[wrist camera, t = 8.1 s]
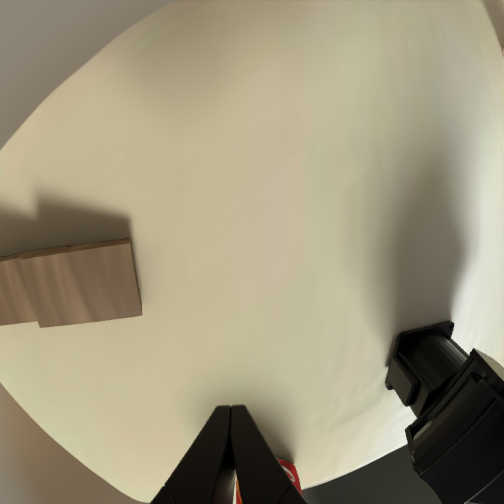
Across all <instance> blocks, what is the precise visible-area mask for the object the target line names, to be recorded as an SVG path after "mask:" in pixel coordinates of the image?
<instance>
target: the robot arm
mask: <svg viewBox="0 0 504 504" xmlns="http://www.w3.org/2000/svg"><path fill="white" fill-rule="evenodd" d="M453 328H454V323H453V322H452V321H446V322H442V323H439V324H435V325H431V326H427V327H423V328H419V329H415V330H410V331H406V332H402V333H400V334H399V335H398V337H397V342H396V346H395V351H394V355H393V358H392V361H391V365H390V369H389V373H388V376H387V382H386V388H387V389H388V390H392V389H394V390H395V391H396V393H397V395H398V396H399V398H400V399H401V401H402V403H403V404H404V405H405V406H406V407H407V406H410V408H411V409H412V411H413V413H414V414H415V416H416V417H417V419H416V420H415V421H414V422H413V423H412V424H411V425H409V426H408V427H407V428H406V429H405V433H406V437H407V442H408V446H409V451H410V456H411V460H412V464H413V468H414V471H415V472H417V474H418V475H419V477H420V478H421V479H422V480H424V481H425V482H426V483H427V484H428V485H429V486H430V487H431V488H432V489H433V490H434V491H435V493H436V494H437V495H438V497H439V499H440V500H441V502H442V504H465V503H469V504H504V368H503V367H502V366H501V365H500V364H499V363H498V362H497V361H495V360H494V359H493V358H491V357H489V356H488V355H486V354H484V353H482V352H480V351H479V350H477V349H475V348H473V349H472V351H471V352H470V355H468V354H467V353H466V352H465V351H464V350H463V349H462V348H461V347H460V346H459V345H458V344H457V343H456V342H455V341H454V340H452V339H451V335H452V332H453ZM403 337H404V338H403ZM402 338H403V339H402ZM236 475H237V480H238V485H239V490H240V495H241V500H242V504H308V503H307V502H306V500H305V499H304V498H303V496H302V495H301V494H300V492H299V491H298V489H297V488H296V486H295V485H294V484H293V482H292V481H291V479H290V478H289V476H288V475H287V473H286V472H285V470H284V469H283V467H282V465H281V464H280V462H279V461H278V459H277V458H276V456H275V454H274V453H273V451H272V450H271V448H270V446H269V445H268V443H267V441H266V440H265V438H264V436H263V435H262V433H261V431H260V430H259V428H258V426H257V425H256V423H255V421H254V420H253V418H252V416H251V414H250V413H249V411H248V409H247V407H246V406H245V405H243V404H242V405H232V406H229V405H219V406H217V407H216V408H215V410H214V411H213V413H212V414H211V416H210V418H209V419H208V421H207V422H206V424H205V425H204V427H203V428H202V430H201V431H200V433H199V434H198V436H197V437H196V439H195V440H194V442H193V443H192V445H191V446H190V448H189V449H188V451H187V452H186V454H185V455H184V457H183V458H182V460H181V461H180V463H179V464H178V465H177V467H176V468H175V470H174V471H173V473H172V474H171V476H170V477H169V478H168V480H167V481H166V483H165V484H164V485H165V486H163V487H162V488H161V489H160V491H159V492H158V494H157V495H156V496H155V497H154V499H153V500H152V501H151V502H150V504H233V496H234V486H235V476H236Z"/></svg>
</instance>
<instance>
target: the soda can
mask: <svg viewBox="0 0 504 504" xmlns="http://www.w3.org/2000/svg"><path fill="white" fill-rule="evenodd" d="M278 461H279V462H280V464H281V465H282V467H283V469H284V470H285V472H286V473H287V475H288V476H289V478H290V479H291V481H292V482H293V484H294V485H295V486H296V488H297V489H298V491H299V492H300V494H301V495H302V491H301V486H300V481H299V477H298V474H297V471H296V468H295V466H294V465H293V464H292V463H290V462H288V461H284V460H281V459H278ZM236 504H242V500H241V495H240V490H239V485H238V480H237V482H236Z"/></svg>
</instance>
